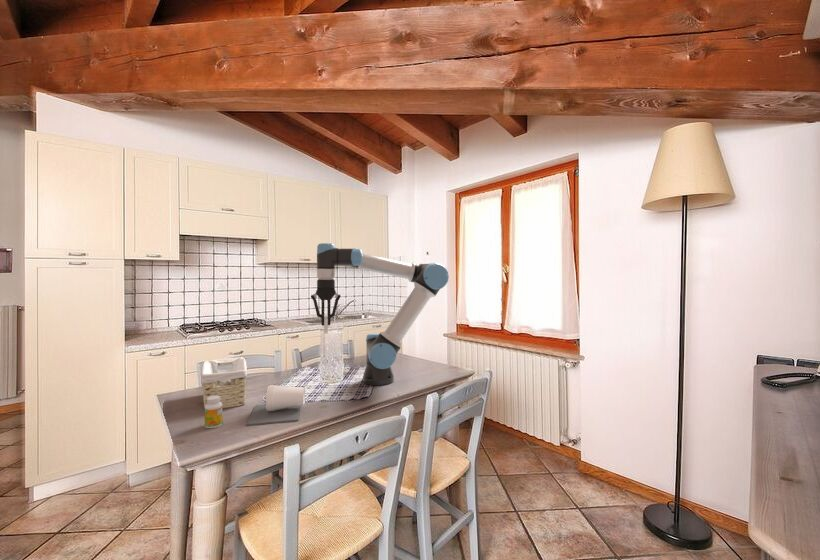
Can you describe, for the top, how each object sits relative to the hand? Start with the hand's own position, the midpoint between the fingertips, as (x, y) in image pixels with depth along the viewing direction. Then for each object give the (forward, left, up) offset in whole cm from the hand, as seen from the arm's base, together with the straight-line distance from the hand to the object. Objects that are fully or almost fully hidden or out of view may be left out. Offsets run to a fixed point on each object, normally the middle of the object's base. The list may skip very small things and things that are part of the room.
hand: (325, 332), depth 156 cm
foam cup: (+8, +18, -21) cm, 29 cm away
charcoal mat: (+18, +19, -26) cm, 37 cm away
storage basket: (+41, -1, -27) cm, 49 cm away
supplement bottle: (+38, +25, -27) cm, 53 cm away
